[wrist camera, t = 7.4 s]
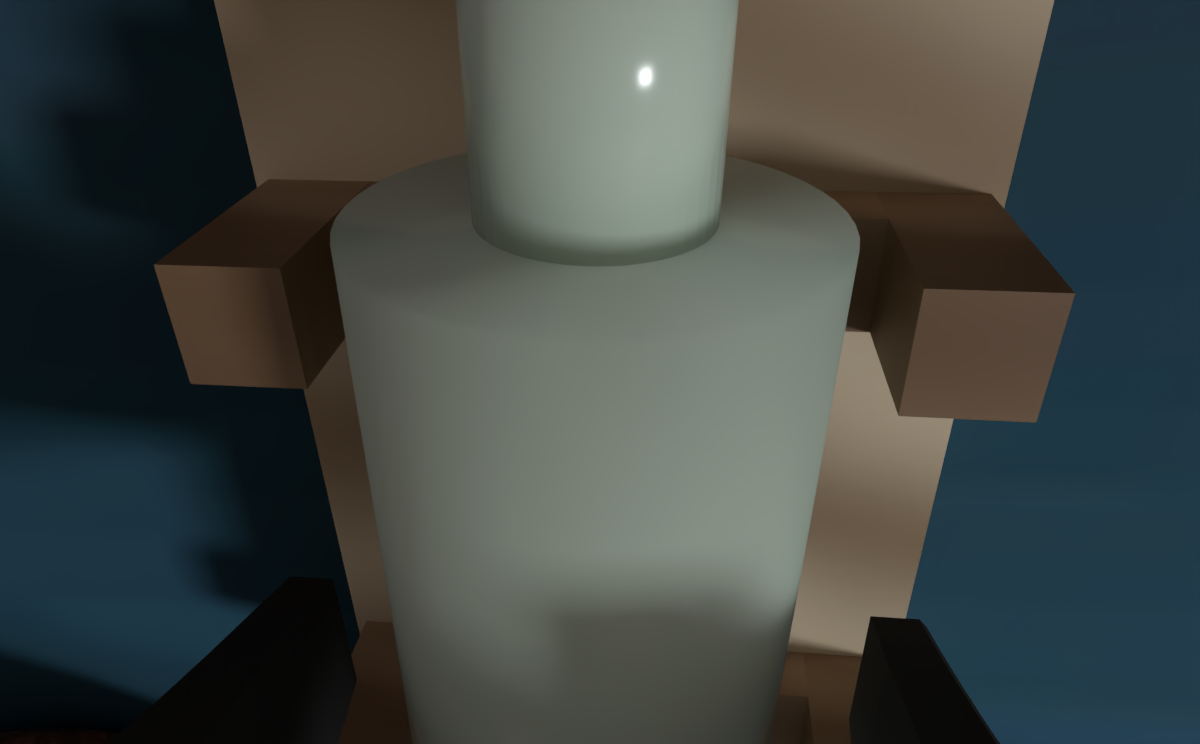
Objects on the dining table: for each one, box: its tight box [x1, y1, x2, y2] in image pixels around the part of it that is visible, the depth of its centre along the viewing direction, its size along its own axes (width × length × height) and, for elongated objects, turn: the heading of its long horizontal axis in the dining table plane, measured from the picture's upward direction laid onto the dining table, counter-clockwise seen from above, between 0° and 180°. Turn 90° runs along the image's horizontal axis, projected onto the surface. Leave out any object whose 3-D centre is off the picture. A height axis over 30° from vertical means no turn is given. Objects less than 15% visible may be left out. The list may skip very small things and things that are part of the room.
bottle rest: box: [154, 0, 1075, 744], centre depth 14 cm, size 16×10×4 cm, turn 1°
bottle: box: [330, 0, 860, 744], centre depth 11 cm, size 16×5×5 cm, turn 179°
